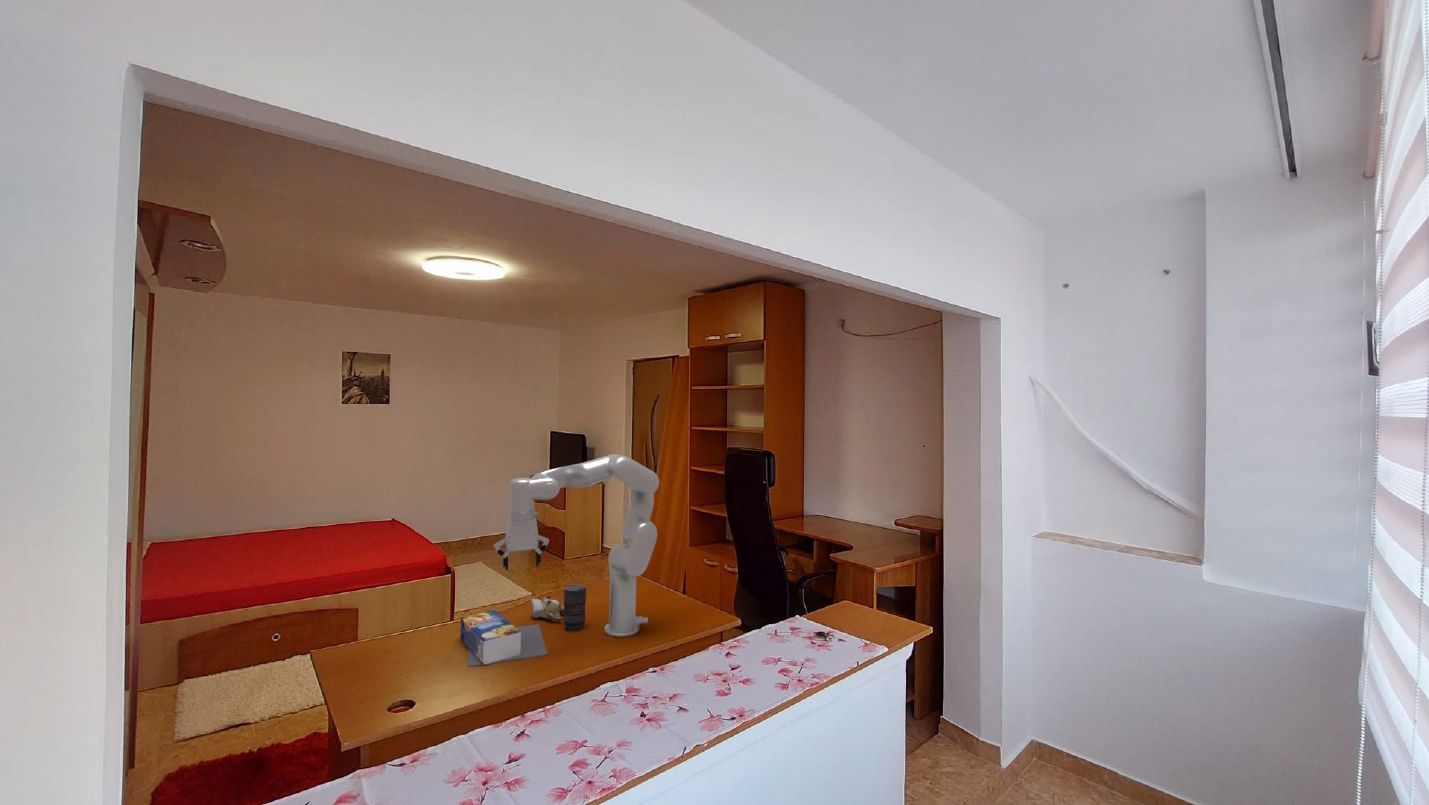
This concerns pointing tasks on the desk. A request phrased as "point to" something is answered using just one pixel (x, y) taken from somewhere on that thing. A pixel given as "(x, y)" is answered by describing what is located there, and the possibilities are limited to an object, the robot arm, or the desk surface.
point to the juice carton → (490, 636)
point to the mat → (529, 646)
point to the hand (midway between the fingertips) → (522, 567)
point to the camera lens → (574, 607)
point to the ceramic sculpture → (547, 608)
